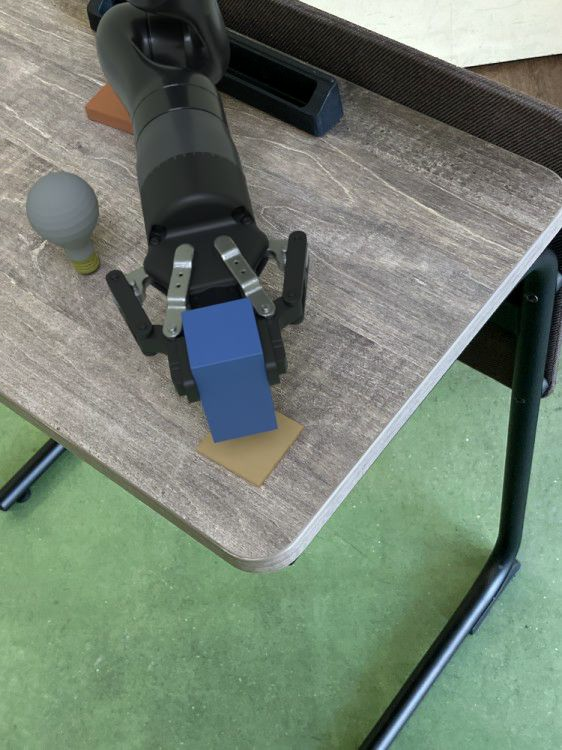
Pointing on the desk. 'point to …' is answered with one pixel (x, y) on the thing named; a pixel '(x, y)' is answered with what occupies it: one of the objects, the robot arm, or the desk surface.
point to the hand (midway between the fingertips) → (233, 385)
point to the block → (229, 369)
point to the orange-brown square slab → (108, 110)
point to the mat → (253, 450)
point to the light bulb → (66, 216)
